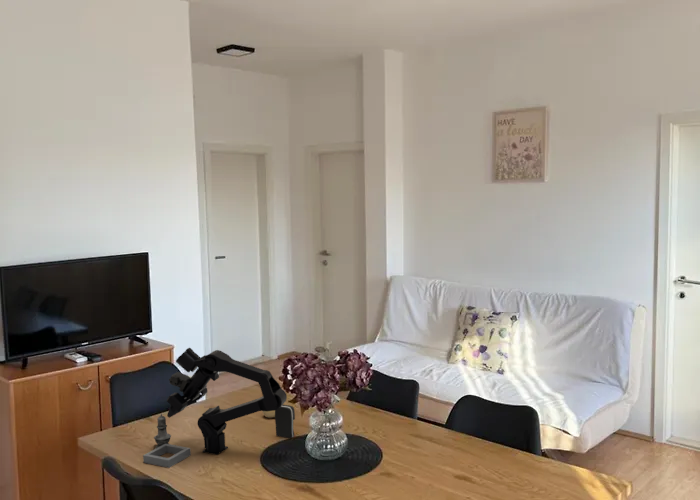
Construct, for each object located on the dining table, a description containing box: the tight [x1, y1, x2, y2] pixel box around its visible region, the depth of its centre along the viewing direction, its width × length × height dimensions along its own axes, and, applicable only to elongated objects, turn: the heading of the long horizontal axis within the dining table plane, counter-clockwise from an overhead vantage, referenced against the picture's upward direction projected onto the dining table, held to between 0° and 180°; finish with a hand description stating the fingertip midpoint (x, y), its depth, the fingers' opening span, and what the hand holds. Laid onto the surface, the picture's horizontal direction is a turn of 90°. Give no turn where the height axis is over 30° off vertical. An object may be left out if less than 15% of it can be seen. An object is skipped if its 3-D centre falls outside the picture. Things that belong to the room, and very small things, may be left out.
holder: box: [142, 443, 192, 469], centre depth 221 cm, size 11×11×2 cm
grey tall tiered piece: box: [153, 413, 172, 449], centre depth 232 cm, size 6×6×12 cm
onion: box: [261, 411, 275, 418], centre depth 260 cm, size 8×8×7 cm
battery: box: [274, 404, 296, 439], centre depth 239 cm, size 7×4×11 cm, turn 67°
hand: (175, 412), depth 230 cm, fingers open, 9 cm apart
